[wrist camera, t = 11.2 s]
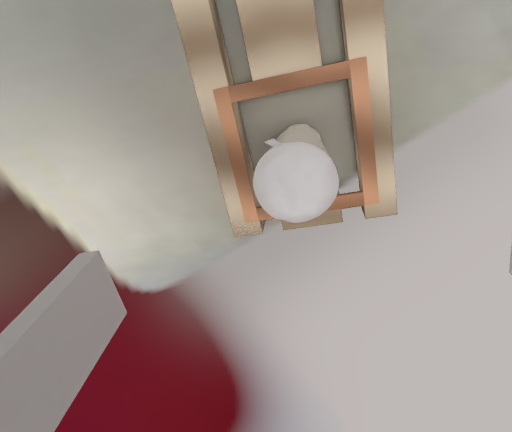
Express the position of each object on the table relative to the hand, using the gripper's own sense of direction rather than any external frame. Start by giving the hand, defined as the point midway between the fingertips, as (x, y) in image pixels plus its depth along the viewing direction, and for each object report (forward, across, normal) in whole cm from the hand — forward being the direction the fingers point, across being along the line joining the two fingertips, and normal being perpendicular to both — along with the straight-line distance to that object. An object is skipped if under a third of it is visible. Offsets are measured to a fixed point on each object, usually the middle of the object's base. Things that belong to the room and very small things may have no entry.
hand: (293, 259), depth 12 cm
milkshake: (+17, 0, -1) cm, 17 cm away
